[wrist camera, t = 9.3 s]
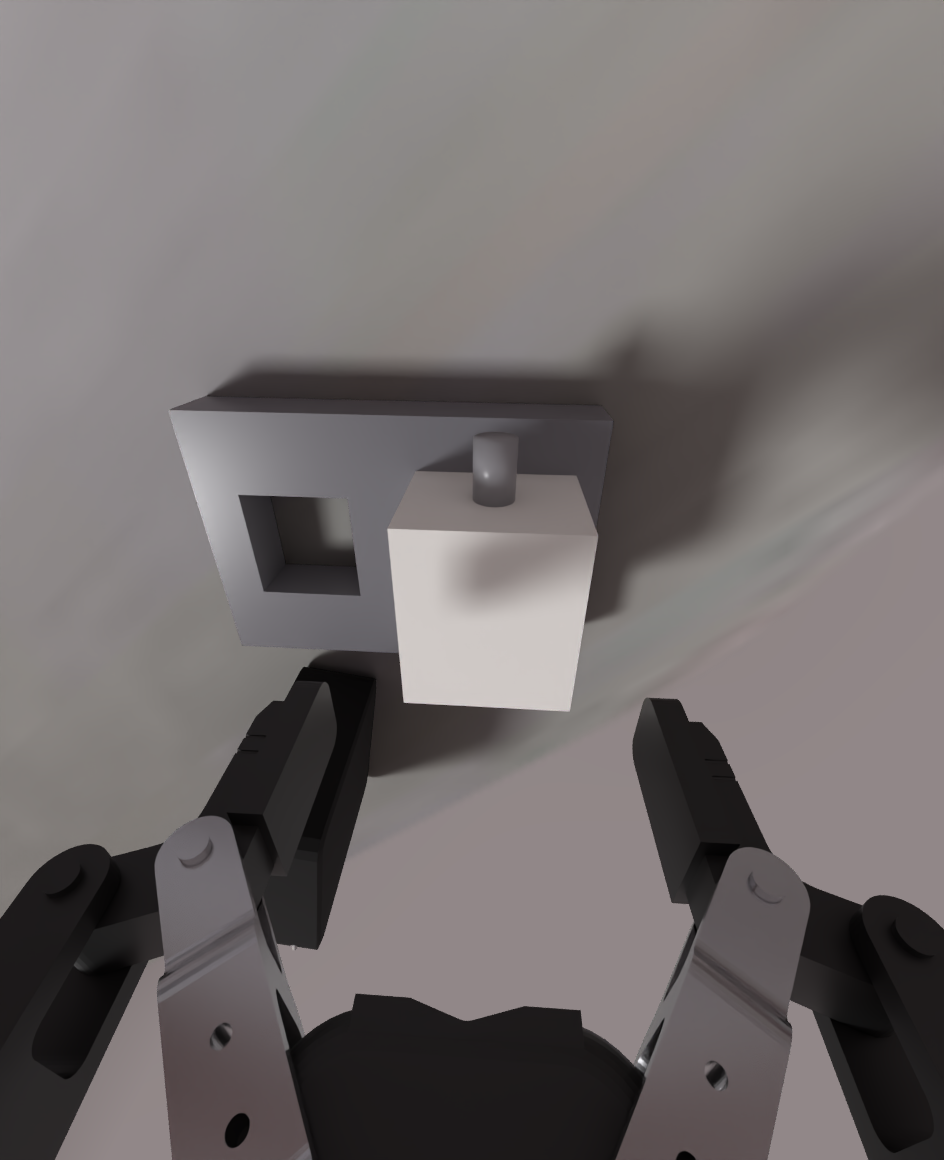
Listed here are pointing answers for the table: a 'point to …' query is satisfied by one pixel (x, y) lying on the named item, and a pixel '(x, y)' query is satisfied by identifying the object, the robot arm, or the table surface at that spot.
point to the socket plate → (348, 495)
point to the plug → (491, 582)
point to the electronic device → (326, 817)
